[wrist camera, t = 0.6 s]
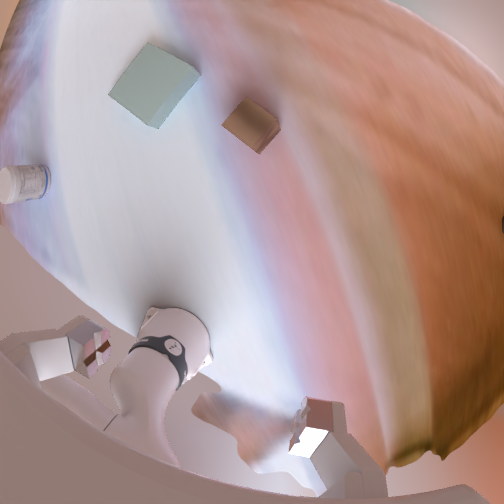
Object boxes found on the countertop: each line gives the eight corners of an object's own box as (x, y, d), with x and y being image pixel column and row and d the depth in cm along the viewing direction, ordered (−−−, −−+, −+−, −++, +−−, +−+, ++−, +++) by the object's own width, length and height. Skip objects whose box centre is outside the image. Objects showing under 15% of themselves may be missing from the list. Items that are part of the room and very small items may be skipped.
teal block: (159, 129, 49) (147, 125, 45) (121, 99, 49) (108, 94, 44) (202, 75, 45) (193, 67, 41) (158, 50, 45) (148, 42, 40)
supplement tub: (34, 199, 59) (-4, 205, 45) (34, 166, 57) (-4, 169, 43) (52, 197, 58) (11, 203, 43) (52, 162, 55) (11, 163, 41)
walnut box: (259, 154, 47) (250, 148, 39) (234, 135, 47) (221, 125, 39) (280, 130, 46) (276, 118, 37) (255, 111, 45) (246, 96, 37)
